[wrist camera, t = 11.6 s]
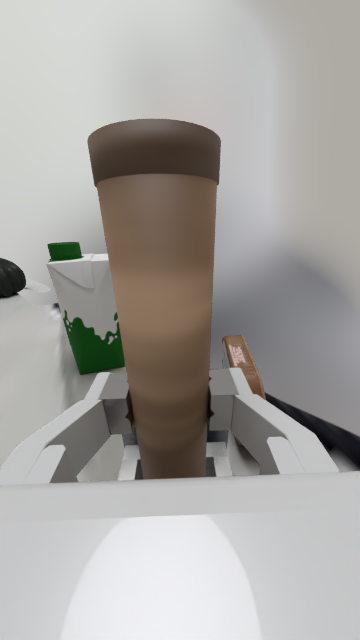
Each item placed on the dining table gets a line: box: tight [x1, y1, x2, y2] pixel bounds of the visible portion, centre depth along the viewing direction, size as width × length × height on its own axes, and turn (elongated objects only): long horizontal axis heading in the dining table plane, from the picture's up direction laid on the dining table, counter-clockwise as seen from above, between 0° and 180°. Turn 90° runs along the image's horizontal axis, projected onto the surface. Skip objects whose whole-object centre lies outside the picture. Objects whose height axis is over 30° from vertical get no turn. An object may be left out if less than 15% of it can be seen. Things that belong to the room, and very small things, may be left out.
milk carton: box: [47, 242, 125, 374], centre depth 34 cm, size 9×9×20 cm
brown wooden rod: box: [88, 119, 221, 480], centre depth 9 cm, size 3×3×18 cm
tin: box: [222, 335, 266, 446], centre depth 26 cm, size 15×3×8 cm, turn 176°
